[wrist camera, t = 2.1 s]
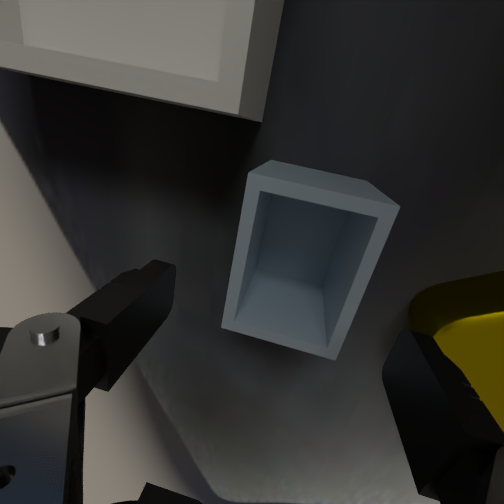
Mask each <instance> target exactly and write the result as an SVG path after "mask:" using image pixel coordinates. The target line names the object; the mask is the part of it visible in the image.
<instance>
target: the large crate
mask: <svg viewBox="0 0 504 504" xmlns="http://www.w3.org/2000/svg"><path fill="white" fill-rule="evenodd" d="M283 4H284V0H0V68H1V69H5V70H9V71H14V72H18V73H23V74H27V75H32V76H37V77H42V78H47V79H52V80H57V81H62V82H67V83H71V84H76V85H81V86H86V87H91V88H96V89H101V90H106V91H111V92H116V93H121V94H125V95H130V96H135V97H140V98H145V99H150V100H155V101H160V102H165V103H170V104H175V105H180V106H184V107H189V108H194V109H199V110H204V111H209V112H214V113H219V114H224V115H229V116H234V117H238V118H243V119H248V120H253V121H258V122H262V119H263V114H264V108H265V103H266V97H267V92H268V86H269V81H270V75H271V70H272V64H273V59H274V53H275V48H276V43H277V37H278V32H279V26H280V21H281V15H282V10H283Z"/></svg>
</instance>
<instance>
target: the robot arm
mask: <svg viewBox="0 0 504 504" xmlns="http://www.w3.org/2000/svg"><path fill="white" fill-rule="evenodd" d="M175 278H176V266H175V265H173V264H170V263H166V262H162V261H159V260H152V261H151V262H149V263H148V264H147V265H146V266H144V267H143V268H142V269H140V270H139V269H133V270H130V271H127V272H124V273H121V274H120V275H119V276H117V277H116V278H114V279H113V280H112V281H111V282H110V283H107V284H106V285H105V286H103V287H102V288H101V290H100V289H99V290H98V291H96V292H95V293H93V294H92V295H91V296H89V297H88V298H86V299H85V300H83V301H82V302H81V303H79V304H78V305H77V306H75V307H74V308H72V309H71V310H70V311H68V312H67V313H46V314H41V315H37V316H34V317H31V318H28V319H26V320H24V321H22V322H21V323H19V324H17V325H16V326H15V327H14V328H8V327H7V328H6V327H0V504H83V453H84V426H85V397H86V396H87V395H88V394H89V393H90V391H91V390H92V389H93V388H94V387H95V388H98V389H101V390H104V391H109V390H110V389H111V388H112V386H113V385H114V384H115V383H116V381H117V380H118V379H119V378H120V376H121V375H122V374H123V373H124V371H125V370H126V369H127V367H128V366H129V365H130V364H131V362H132V361H133V360H134V359H135V357H136V356H137V355H138V354H139V352H140V351H141V350H142V349H143V347H144V346H145V345H146V343H147V342H148V341H149V340H150V338H151V337H152V336H153V335H154V333H155V332H156V331H157V330H158V328H159V327H160V326H161V325H162V323H163V322H164V321H165V320H166V318H167V317H168V315H169V313H170V311H171V308H172V304H173V298H174V288H175ZM382 380H383V384H384V387H385V390H386V393H387V397H388V400H389V403H390V406H391V409H392V412H393V416H394V419H395V422H396V425H397V428H398V431H399V434H400V438H401V441H402V444H403V447H404V450H405V453H406V456H407V460H408V463H409V466H410V469H411V472H412V475H413V479H414V482H415V485H416V488H417V491H418V494H419V495H422V496H426V497H429V498H432V499H435V500H438V501H440V504H504V432H503V431H502V429H501V428H500V426H499V425H498V423H497V422H496V420H495V419H494V417H493V416H492V414H491V413H490V411H489V410H488V409H487V407H486V406H485V404H484V403H483V401H480V397H479V395H478V394H477V392H476V391H475V389H474V388H472V387H471V383H470V382H469V381H468V379H467V378H466V376H465V375H464V373H463V372H462V370H461V369H460V368H459V367H458V366H457V365H456V364H455V363H453V362H452V361H451V360H450V359H449V358H448V357H447V356H446V355H444V353H443V352H442V350H441V349H440V347H439V346H438V344H437V343H436V341H435V340H434V338H433V337H432V336H431V335H428V334H424V333H420V332H417V331H413V330H409V329H404V330H403V331H402V332H401V333H400V334H399V336H398V338H397V340H396V342H395V344H394V346H393V348H392V349H391V351H390V353H389V355H388V357H387V359H386V361H385V363H384V366H383V370H382ZM112 504H202V503H201V502H200V501H198V500H196V499H193V498H190V497H187V496H184V495H181V494H178V493H176V492H173V491H170V490H167V489H164V488H162V487H158V486H156V485H153V484H150V483H147V482H146V485H145V487H144V489H143V491H142V493H141V496H140V498H139V499H138V501H124V502H117V503H112Z"/></svg>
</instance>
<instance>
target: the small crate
mask: <svg viewBox="0 0 504 504" xmlns="http://www.w3.org/2000/svg"><path fill="white" fill-rule="evenodd" d="M399 209H400V206H399V205H398V204H397V203H395V202H394V201H393V200H391V199H390V198H389V197H387V196H386V195H385V194H384V193H382V192H381V191H380V190H378V189H377V188H376V187H374V186H373V185H372V184H371V183H369V182H368V181H366V180H361V179H357V178H352V177H347V176H343V175H338V174H334V173H329V172H324V171H320V170H315V169H311V168H306V167H301V166H297V165H292V164H288V163H283V162H278V161H274V160H270V161H268V162H266V163H265V164H263V165H261V166H259V167H257V168H256V169H254V170H252V171H250V172H248V177H247V183H246V189H245V195H244V200H243V206H242V212H241V217H240V223H239V229H238V234H237V240H236V246H235V251H234V257H233V263H232V268H231V274H230V280H229V286H228V291H227V297H226V303H225V308H224V314H223V320H222V325H221V328H224V329H228V330H231V331H235V332H238V333H242V334H245V335H248V336H252V337H255V338H259V339H262V340H266V341H269V342H273V343H276V344H280V345H283V346H287V347H290V348H294V349H297V350H300V351H304V352H307V353H311V354H314V355H318V356H321V357H325V358H328V359H332V360H335V361H336V358H337V356H338V354H339V351H340V349H341V347H342V344H343V342H344V339H345V337H346V335H347V332H348V330H349V328H350V325H351V323H352V320H353V318H354V316H355V313H356V311H357V309H358V306H359V304H360V301H361V299H362V297H363V294H364V292H365V290H366V287H367V285H368V282H369V280H370V278H371V275H372V273H373V271H374V268H375V266H376V263H377V261H378V259H379V256H380V254H381V252H382V249H383V247H384V244H385V242H386V240H387V237H388V235H389V233H390V230H391V228H392V225H393V223H394V221H395V218H396V216H397V213H398V211H399Z"/></svg>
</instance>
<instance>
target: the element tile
mask: <svg viewBox="0 0 504 504" xmlns="http://www.w3.org/2000/svg"><path fill="white" fill-rule="evenodd" d="M409 320H410V324H411V329H412V330H413V331H417V332H420V333H424V334H428V335H431V336H432V337H433V338H434V340H435V341H436V343H437V344H438V346H439V347H440V349H441V350H442V352H443V353H444V355H446V356H447V357H448V358H449V359H450V360H451V361H452V362H453V363H455V364H456V365H457V366H458V367H459V368H460V369H461V370H462V372H463V373H464V375H465V376H466V378H467V379H468V381H469V382H470V383H471V387H472V388H474V389H475V391H476V392H477V394H478V395H479V397H480V401H483V403H484V404H485V406H486V407H487V409H488V410H489V411H490V413H491V414H492V416H493V417H494V419H495V420H496V422H497V423H498V425H499V426H500V428H501V429H502V431H503V432H504V271H500V272H495V273H490V274H485V275H480V276H475V277H470V278H465V279H460V280H455V281H451V282H446V283H441V284H437V285H434V286H431V287H428V288H426V289H425V290H423V291H421V292H419V293H418V294H417V295H416V296H415V297H414V299H413V300H412V301H411V304H410V308H409Z"/></svg>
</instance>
